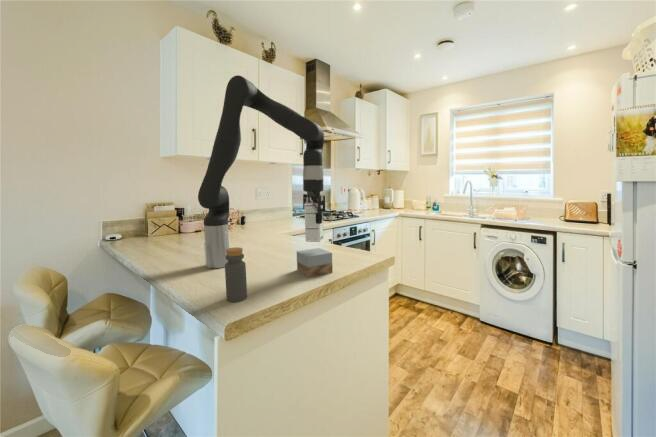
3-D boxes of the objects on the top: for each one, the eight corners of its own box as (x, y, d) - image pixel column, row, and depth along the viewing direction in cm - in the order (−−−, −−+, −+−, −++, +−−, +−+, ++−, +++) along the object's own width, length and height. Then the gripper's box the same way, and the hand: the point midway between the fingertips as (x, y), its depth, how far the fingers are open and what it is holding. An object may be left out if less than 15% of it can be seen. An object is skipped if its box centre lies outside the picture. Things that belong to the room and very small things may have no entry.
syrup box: (320, 242, 110) (319, 203, 108) (304, 241, 111) (304, 202, 109) (323, 239, 115) (323, 201, 114) (308, 238, 117) (308, 201, 115)
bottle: (233, 303, 85) (230, 252, 83) (222, 298, 89) (220, 249, 87) (251, 297, 89) (248, 248, 87) (240, 293, 93) (237, 246, 91)
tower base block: (308, 278, 108) (308, 267, 107) (297, 271, 116) (297, 261, 116) (332, 273, 113) (332, 263, 112) (319, 267, 121) (319, 257, 121)
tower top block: (308, 267, 107) (308, 256, 107) (296, 261, 116) (296, 251, 115) (332, 263, 112) (332, 252, 112) (319, 257, 121) (319, 248, 120)
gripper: (296, 178, 115) (297, 220, 117) (312, 178, 102) (313, 225, 104) (313, 178, 118) (314, 219, 120) (331, 178, 106) (332, 223, 108)
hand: (313, 222), depth 112 cm, fingers closed on syrup box, 8 cm apart
